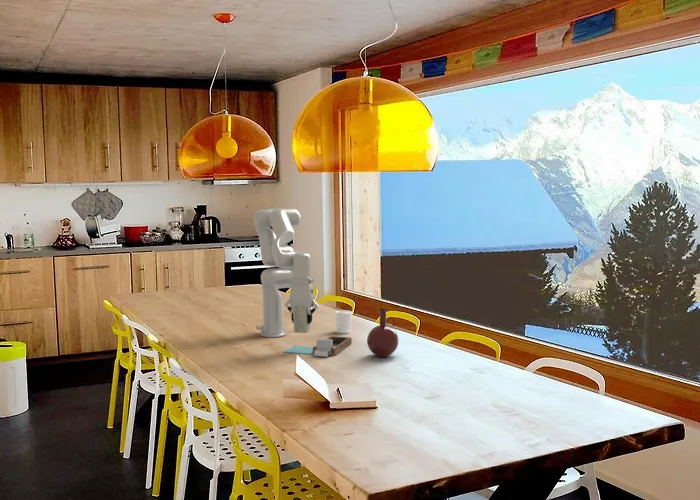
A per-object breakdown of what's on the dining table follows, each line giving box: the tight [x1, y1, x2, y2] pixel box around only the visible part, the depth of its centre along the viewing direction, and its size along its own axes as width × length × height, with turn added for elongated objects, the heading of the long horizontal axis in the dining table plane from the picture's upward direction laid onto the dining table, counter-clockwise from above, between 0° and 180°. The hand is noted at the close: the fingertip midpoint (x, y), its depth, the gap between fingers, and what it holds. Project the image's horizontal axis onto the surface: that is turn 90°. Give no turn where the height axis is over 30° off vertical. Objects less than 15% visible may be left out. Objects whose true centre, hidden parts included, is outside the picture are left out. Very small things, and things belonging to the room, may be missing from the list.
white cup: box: [335, 309, 353, 335], centre depth 363 cm, size 8×8×10 cm
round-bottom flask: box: [366, 308, 399, 358], centre depth 315 cm, size 13×13×20 cm
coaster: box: [283, 345, 314, 355], centre depth 326 cm, size 12×12×1 cm
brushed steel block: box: [313, 338, 334, 358], centre depth 316 cm, size 6×6×6 cm
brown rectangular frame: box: [312, 335, 353, 357], centre depth 329 cm, size 10×23×3 cm, turn 163°
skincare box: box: [293, 305, 311, 334], centre depth 324 cm, size 6×4×12 cm
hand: (301, 322), depth 325 cm, fingers closed on skincare box, 6 cm apart
